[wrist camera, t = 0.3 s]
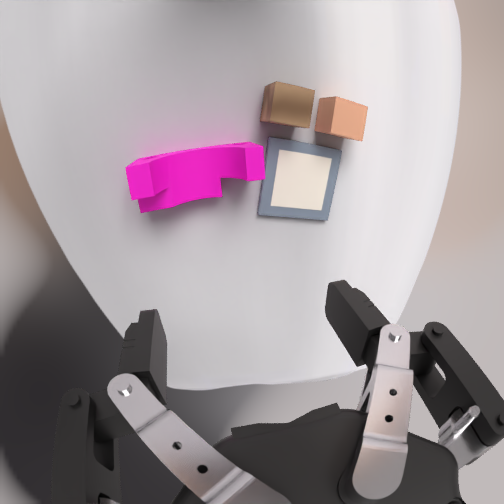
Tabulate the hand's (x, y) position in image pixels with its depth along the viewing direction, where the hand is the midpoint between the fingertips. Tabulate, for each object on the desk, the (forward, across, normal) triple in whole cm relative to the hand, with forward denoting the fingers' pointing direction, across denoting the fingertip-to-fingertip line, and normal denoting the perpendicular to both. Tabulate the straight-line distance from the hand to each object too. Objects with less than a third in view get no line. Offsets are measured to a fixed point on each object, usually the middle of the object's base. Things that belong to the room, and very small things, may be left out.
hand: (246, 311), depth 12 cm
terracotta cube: (+28, -18, -8) cm, 34 cm away
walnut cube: (+28, -10, -10) cm, 31 cm away
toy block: (+28, +2, -1) cm, 28 cm away
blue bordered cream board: (+27, -13, +1) cm, 30 cm away
